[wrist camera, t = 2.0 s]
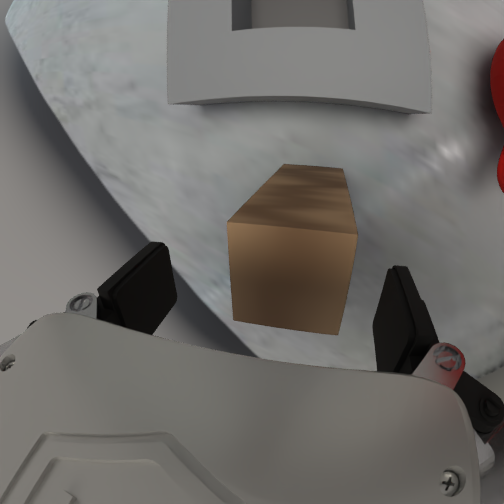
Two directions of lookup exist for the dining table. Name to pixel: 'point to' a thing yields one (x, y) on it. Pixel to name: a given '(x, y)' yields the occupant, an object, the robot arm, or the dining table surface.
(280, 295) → the brown rectangular block
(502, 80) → the ceramic cup
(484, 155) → the dining table surface
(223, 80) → the well block
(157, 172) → the dining table surface
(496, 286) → the dining table surface
